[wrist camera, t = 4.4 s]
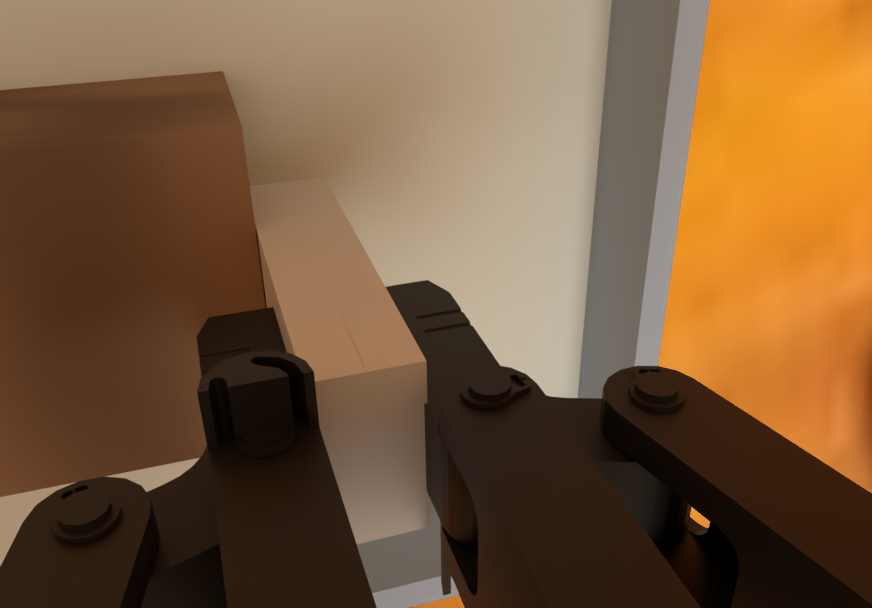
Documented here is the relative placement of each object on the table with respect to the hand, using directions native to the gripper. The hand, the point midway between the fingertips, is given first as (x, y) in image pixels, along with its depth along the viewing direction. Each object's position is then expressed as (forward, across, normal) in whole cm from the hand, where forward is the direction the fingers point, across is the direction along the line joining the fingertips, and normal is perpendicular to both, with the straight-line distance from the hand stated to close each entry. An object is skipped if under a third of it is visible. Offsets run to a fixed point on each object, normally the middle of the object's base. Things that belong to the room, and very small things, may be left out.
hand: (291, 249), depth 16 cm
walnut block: (+2, -4, 0) cm, 4 cm away
